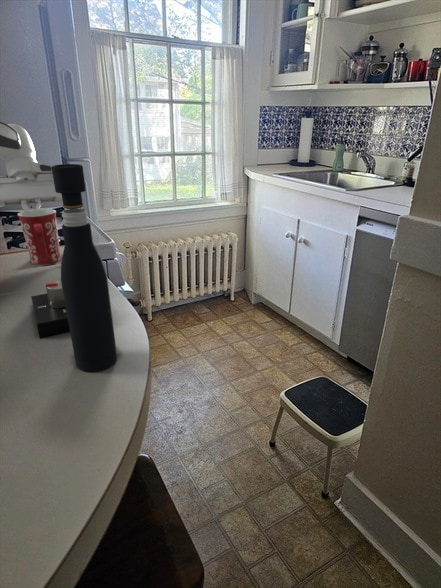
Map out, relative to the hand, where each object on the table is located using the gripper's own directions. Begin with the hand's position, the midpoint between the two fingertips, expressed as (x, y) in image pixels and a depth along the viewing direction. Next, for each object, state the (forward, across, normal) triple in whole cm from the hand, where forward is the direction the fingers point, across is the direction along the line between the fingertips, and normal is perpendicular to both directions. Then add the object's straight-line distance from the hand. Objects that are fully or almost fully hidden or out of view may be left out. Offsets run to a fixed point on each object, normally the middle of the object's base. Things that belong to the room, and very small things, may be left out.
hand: (33, 214), depth 112 cm
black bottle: (+54, +2, -40) cm, 68 cm away
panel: (+42, 0, -28) cm, 50 cm away
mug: (+18, 0, -3) cm, 18 cm away
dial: (+40, 0, -30) cm, 49 cm away
